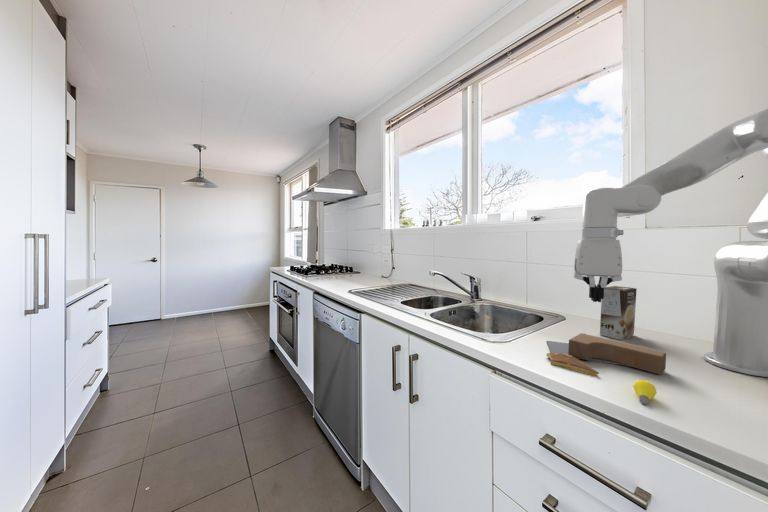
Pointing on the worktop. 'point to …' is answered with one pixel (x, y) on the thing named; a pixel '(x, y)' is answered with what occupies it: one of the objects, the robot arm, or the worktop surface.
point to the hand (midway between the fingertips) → (596, 300)
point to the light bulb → (644, 391)
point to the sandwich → (570, 363)
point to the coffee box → (618, 312)
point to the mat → (564, 347)
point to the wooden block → (617, 353)
